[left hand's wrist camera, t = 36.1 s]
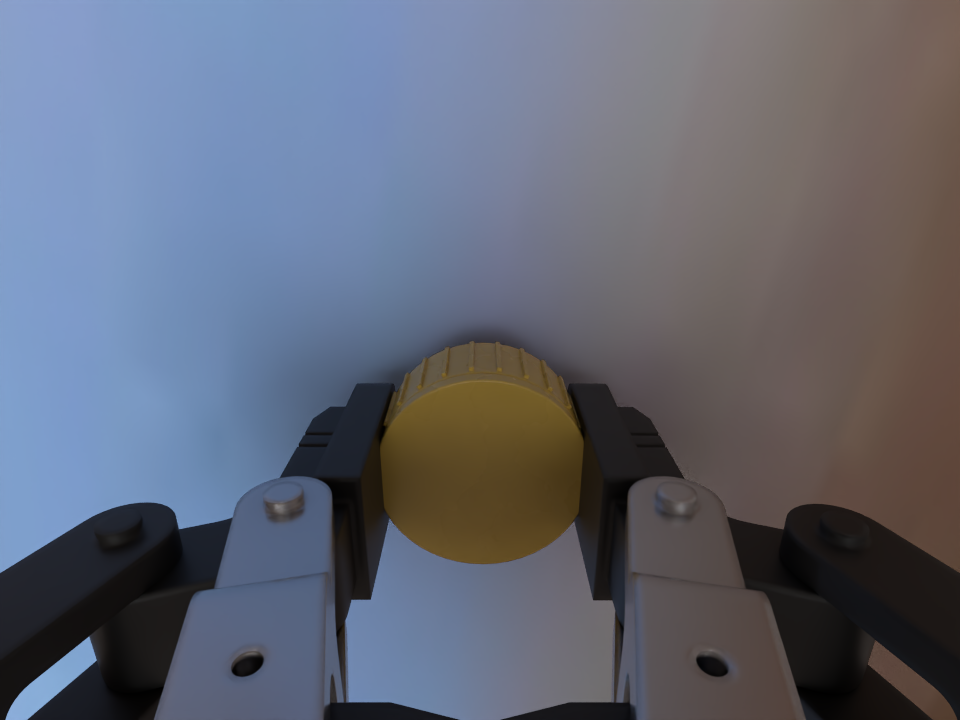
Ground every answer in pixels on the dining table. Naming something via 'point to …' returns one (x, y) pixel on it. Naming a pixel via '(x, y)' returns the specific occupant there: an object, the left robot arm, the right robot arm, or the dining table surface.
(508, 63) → the dining table surface
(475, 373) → the cap
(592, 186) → the dining table surface
